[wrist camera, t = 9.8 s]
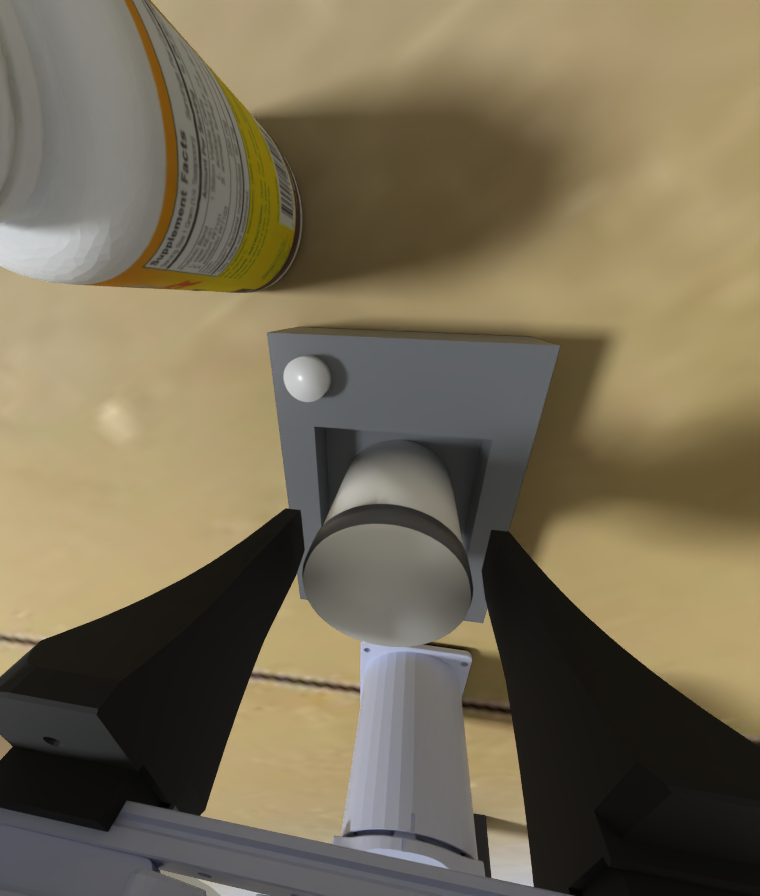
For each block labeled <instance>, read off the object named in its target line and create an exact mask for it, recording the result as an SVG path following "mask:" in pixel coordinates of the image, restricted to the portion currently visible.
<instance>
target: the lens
mask: <svg viewBox="0 0 760 896" xmlns="http://www.w3.org/2000/svg"><path fill="white" fill-rule="evenodd" d="M302 577H303V585H304V590H305V594H306V596H307V598H308V601H309V603H310V604H311V606H312V607H313V609H314V610H315V611H316V612H317V614H318V615H319V616H320V617H321V618H322V619H323V620H324V621H325V622H327V623H328V624H329V625H331V626H332V627H333V628H335V629H337V630H338V631H340V632H342V633H343V634H345V635H347V636H350V637H352V638H354V639H357V640H360V641H363V642H366V643H370V644H374V645H380V646H389V647H409V646H417V645H422V644H426V643H429V642H433V641H435V640H438V639H440V638H442V637H444V636H446V635H447V634H449V633H450V632H452V631H453V630H454V629H455V628H456V627H457V626H458V625H459V624H460V623H461V622H462V621H463V619H464V618H465V616H466V614H467V612H468V610H469V608H470V605H471V602H472V598H473V581H472V576H471V570H470V565H469V560H468V557H467V553H466V551H465V549H464V547H463V544H462V538H461V532H460V527H459V521H458V515H457V509H456V504H455V498H454V492H453V486H452V481H451V477H450V473H449V471H448V469H447V467H446V465H445V464H444V462H443V461H442V460H441V459H440V458H439V456H437V455H436V454H435V453H434V452H433V451H431V450H430V449H428V448H427V447H424V446H422V445H420V444H418V443H415V442H411V441H406V440H386V441H381V442H378V443H375V444H372V445H370V446H368V447H367V448H365V449H363V450H362V451H361V452H360V453H358V455H357V456H356V457H355V458H354V459H353V461H352V462H351V464H350V466H349V468H348V470H347V472H346V474H345V477H344V479H343V481H342V484H341V486H340V488H339V490H338V493H337V495H336V497H335V499H334V502H333V504H332V506H331V509H330V511H329V513H328V515H327V518H326V520H325V522H324V524H323V526H322V527H321V528H320V530H319V531H318V532H317V534H316V536H315V538H314V540H313V542H312V544H311V546H310V549H309V551H308V553H307V555H306V557H305V560H304V564H303V570H302Z"/></svg>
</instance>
